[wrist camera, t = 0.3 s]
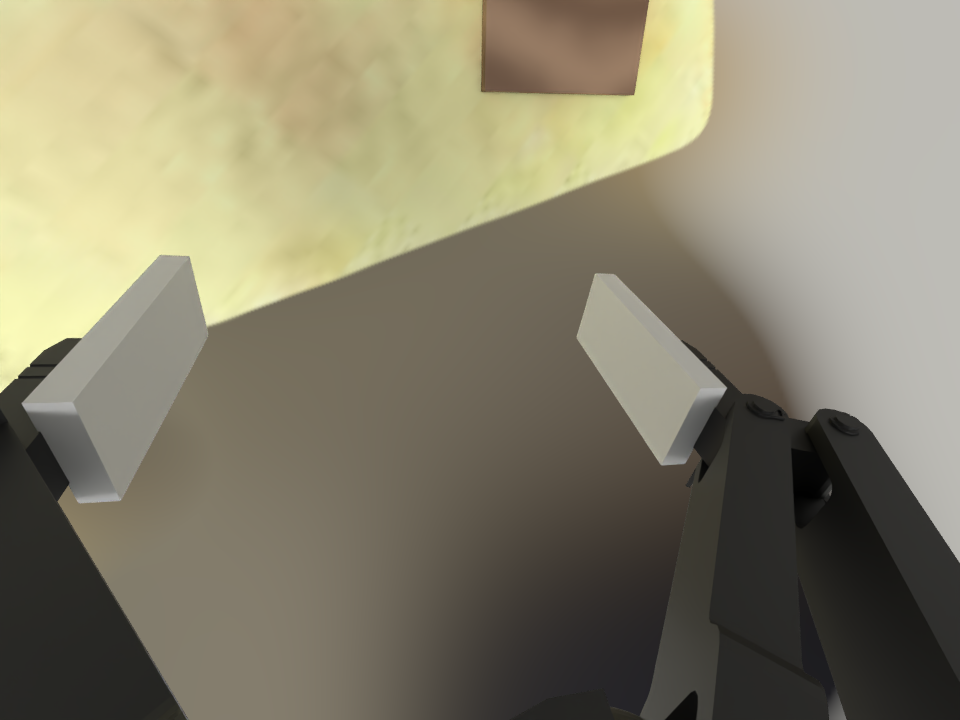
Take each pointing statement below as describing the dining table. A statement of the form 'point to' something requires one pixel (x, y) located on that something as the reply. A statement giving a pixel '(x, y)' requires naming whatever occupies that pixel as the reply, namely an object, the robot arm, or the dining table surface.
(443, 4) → the dining table surface
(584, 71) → the walnut board
